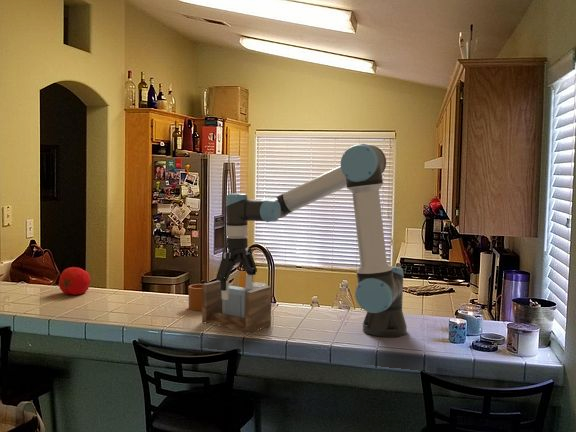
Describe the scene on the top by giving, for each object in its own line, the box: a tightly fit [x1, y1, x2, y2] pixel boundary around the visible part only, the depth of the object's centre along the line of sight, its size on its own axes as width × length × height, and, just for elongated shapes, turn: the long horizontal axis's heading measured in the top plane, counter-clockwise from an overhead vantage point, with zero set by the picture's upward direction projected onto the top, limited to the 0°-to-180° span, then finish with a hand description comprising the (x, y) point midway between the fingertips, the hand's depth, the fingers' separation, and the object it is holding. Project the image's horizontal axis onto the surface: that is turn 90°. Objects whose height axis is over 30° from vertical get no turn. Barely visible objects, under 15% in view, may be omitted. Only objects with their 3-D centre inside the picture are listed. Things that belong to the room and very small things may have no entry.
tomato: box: [58, 266, 92, 296], centre depth 254 cm, size 13×13×13 cm
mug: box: [187, 283, 203, 312], centre depth 232 cm, size 9×12×9 cm
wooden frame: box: [201, 278, 272, 333], centre depth 211 cm, size 22×12×14 cm, turn 56°
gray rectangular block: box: [222, 285, 251, 319], centre depth 211 cm, size 10×4×12 cm, turn 57°
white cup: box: [253, 281, 267, 290], centre depth 232 cm, size 8×8×10 cm
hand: (237, 295), depth 211 cm, fingers open, 13 cm apart
